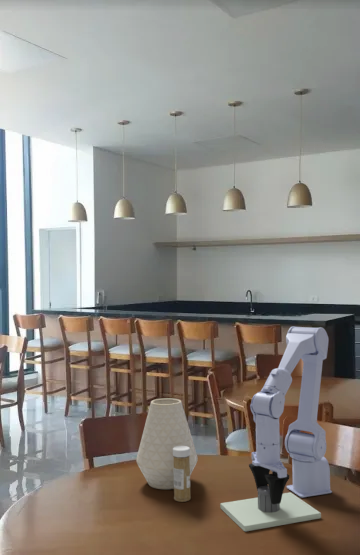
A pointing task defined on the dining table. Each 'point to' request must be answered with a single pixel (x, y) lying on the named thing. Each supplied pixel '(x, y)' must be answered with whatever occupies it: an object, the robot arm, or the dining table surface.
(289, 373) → the robot arm
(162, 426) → the vase
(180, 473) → the sprinkles bottle
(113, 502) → the dining table surface
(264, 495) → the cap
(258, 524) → the post board
